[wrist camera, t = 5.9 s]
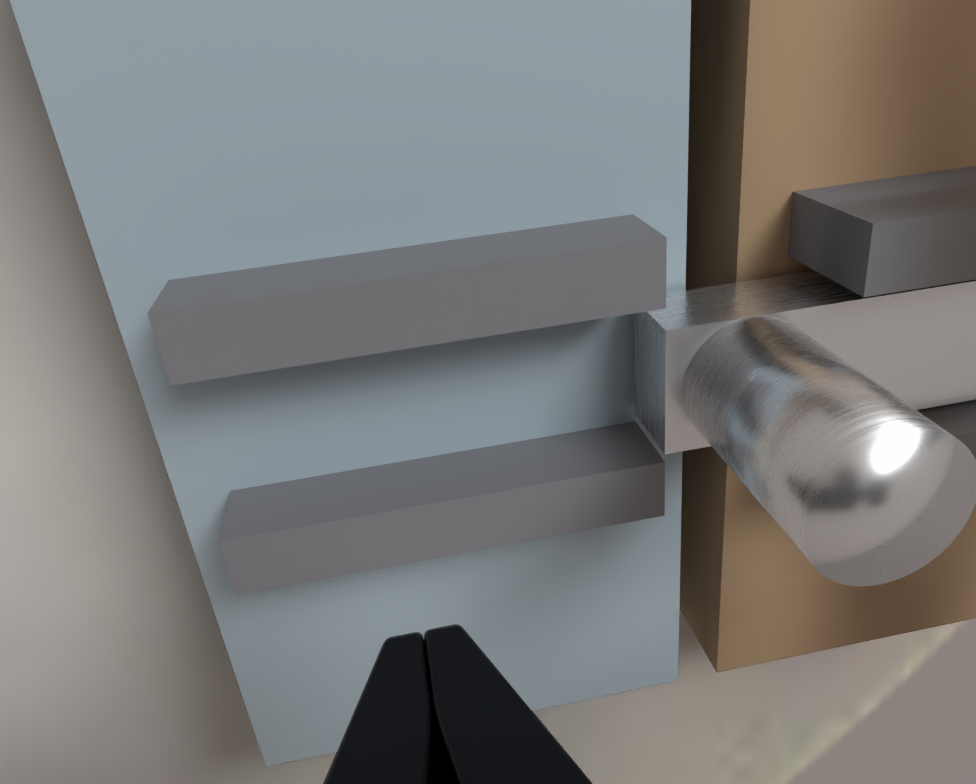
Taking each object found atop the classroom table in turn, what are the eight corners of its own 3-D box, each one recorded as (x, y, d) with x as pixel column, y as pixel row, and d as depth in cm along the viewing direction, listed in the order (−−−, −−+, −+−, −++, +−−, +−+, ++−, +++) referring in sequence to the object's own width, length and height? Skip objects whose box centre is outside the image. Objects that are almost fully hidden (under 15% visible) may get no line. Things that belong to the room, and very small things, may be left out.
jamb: (1134, -231, 15) (1515, -348, 10) (964, 534, 23) (1129, 672, 18) (680, -194, 14) (861, -302, 9) (670, 592, 22) (763, 754, 17)
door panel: (627, -189, 14) (748, -272, 10) (636, 598, 22) (705, 733, 18) (31, -138, 13) (-116, -210, 9) (275, 670, 21) (259, 831, 17)
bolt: (1030, 237, 15) (1366, 348, 10) (1004, 350, 16) (1298, 500, 11) (633, 298, 14) (788, 451, 9) (634, 413, 15) (775, 605, 10)
